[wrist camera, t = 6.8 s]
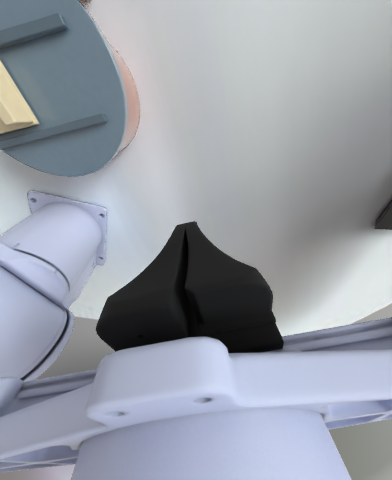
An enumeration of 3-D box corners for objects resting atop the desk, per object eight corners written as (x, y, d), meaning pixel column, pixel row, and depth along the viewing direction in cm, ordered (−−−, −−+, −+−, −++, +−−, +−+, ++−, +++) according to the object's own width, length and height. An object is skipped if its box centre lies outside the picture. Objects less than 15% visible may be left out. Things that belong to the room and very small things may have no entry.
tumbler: (113, -2, 12) (51, -113, 6) (157, 146, 18) (147, 161, 12) (-9, 35, 13) (-173, -35, 7) (71, 167, 18) (19, 192, 12)
